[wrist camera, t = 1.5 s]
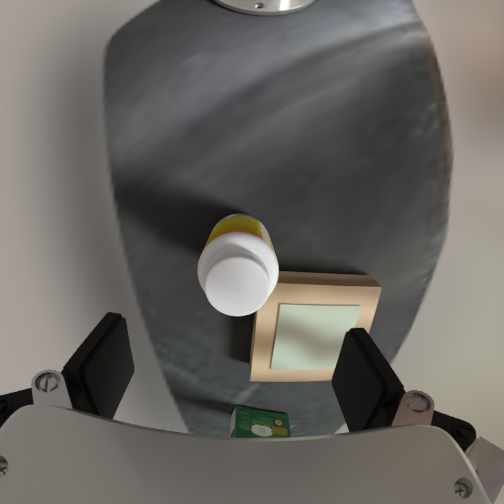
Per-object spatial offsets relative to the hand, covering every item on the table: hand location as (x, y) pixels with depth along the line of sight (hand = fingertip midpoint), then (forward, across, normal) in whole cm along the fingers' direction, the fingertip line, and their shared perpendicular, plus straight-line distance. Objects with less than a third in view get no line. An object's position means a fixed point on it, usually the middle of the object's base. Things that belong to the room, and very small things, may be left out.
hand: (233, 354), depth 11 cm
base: (+16, -8, +8) cm, 20 cm away
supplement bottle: (+16, 0, -1) cm, 16 cm away
